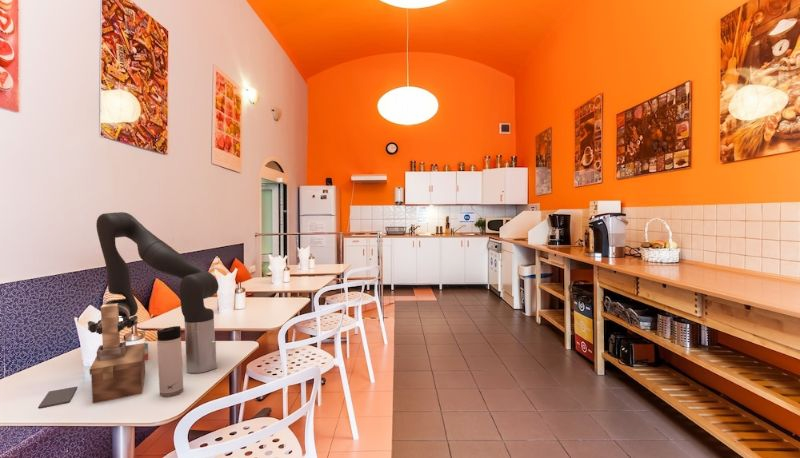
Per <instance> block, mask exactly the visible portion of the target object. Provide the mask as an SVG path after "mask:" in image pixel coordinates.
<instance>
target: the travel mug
mask: <svg viewBox="0 0 800 458" xmlns="http://www.w3.org/2000/svg"><path fill="white" fill-rule="evenodd" d="M181 330H182V329H181V326H179V325H177V326H175V325H174V326H169V327H165V328H163V329H162V330H161V329H160V330H157V331H156V336H157V343H156V344H157V363H158V382H159V383H158V384H159V396H161V397H164V398H165V397H169V398H170V397H174V396H176V395H179V394H181V393H182V392H183V391H184V379H183V378H184V374H183V372H184V371H183V354H182V351H183V350H182V335H181Z"/></svg>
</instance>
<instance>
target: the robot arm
mask: <svg viewBox="0 0 800 458" xmlns="http://www.w3.org/2000/svg"><path fill="white" fill-rule="evenodd" d="M95 224H96V232H97V237H98V240H99V244H100V248H101V252H102V256H103V258H104V262H105V268H106V275H107V277H106V278H107V279H106V280H107V290H108V293H109V294H111V295H120V296H123V298H122V299H121V298H120V299H119V298H117V299H111V300H108V301H106V303H104V305H106V304H116V303H118V312H119V323H118V325H117V327H118V332H121V331H123V330H124V329H126V328H127V329H130V328H133V327H134V326H136V325H137V324H138V323H139V322H138V321H139V320H138V319H139V318H138V316H137V315H136V314H137V313H138V311H139V306H138V305H139V304H138V302H137V300H136V299H135V295H134V293H133V291H132V283H131V273H130V272H131V271H130V269H129V266H128V264H127V263H126V261H125V259H124V258H123V257H122V256H121V255H120V253H119V251H118V249H117V244H116V239H117V238H127V239H129V240H131V241H133V242H134V243H135V244H136V245H137V246H136V247H137V252H138V255H139V258H140V259H141V261H143V262H144V263H146V265H148V266H150V267H151V268H152V269H153V270H156V271H158V272H160V273H163V274H166V275H170V276H172V277H176V278H179V279H181V280H180V283H179V299H180V309H181V313H182V315H183V319H184V320H183V321H184V337H185V338H184V339H185V359H186V360H185V361H186V364H185V365H186V372H187V373H189V374H200V373H205V372H209V371H212V370H215V369H217V367H218V366H217V365H218V363H217V347H216V345H217V343H216V336H215V334H216V333H215V332H216V331H215V315H214V314H215V313H214V312H215V311H214V310H213V309H212V308H208V307H205V302H204V299H209V298H211V297H213V296H215V295H216V294H217V293H218V291H219V288H220V287H219V282H218V280H217V278H216V276H215V275H214V274H212V273H211V272H210V271H208V270H206V269H204V268H202V267H201V266H199V265H197V264H195V263H193V262H192V261H191V260H189V259H188V258H187V257H186V256H184V255H183V254H181V253H179V252H178V251H177V250H175V249H174V248H173V247H171V246H170V245H169V244H168V243H166V242H165V241H164V240H162V239H160V238H159V237H157V236H156V235H155V234H154V233H152V232H151V231H150V230H149V229H147V228H146V227H145V226H144V225H143V224H142V223H141V222H139V220H137V219H136V217H134V216H133V215H132V214H130V213H128V212H125V211H124V212H122V211H121V212H108V213H102V214H99V215H98V217H97V220H96V223H95ZM87 330H88V331H89V332H90V333H96V334H98V335H102V321H101V319H100V320H98V321H97V322H96V321H92V320H91V321H87Z"/></svg>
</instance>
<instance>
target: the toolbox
mask: <svg viewBox="0 0 800 458" xmlns="http://www.w3.org/2000/svg"><path fill="white" fill-rule="evenodd" d="M145 343H146V342H142V343H135V344H130V345H129V344H128V345H127V342H126V341H124V342H123V341H122V342H120V348H114V349H107V350H103V344H101V345H99V347H98V349H97V351H96V357H95V359H94V361H93V362H92V364H91V366H90V368H89V375H91V393H92V394H91V395H92V404H96V403H100V402H101V403H102V402H106V401H110V400H111V401H112V400H116V399H122V398H127V397H132V396H137V395H142V394H143V389H144V384H145V378H146V377H145V376H146V361H145V353H144V351H145Z"/></svg>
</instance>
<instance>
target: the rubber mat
mask: <svg viewBox="0 0 800 458" xmlns="http://www.w3.org/2000/svg"><path fill="white" fill-rule="evenodd" d="M78 388H79V387H78V386H73V387H72V386H71V387H66V388H65V387H64V388H60V389H55V390H49V391H48V392H47V393H46V395H45V396H44V397H43V399H42V401H41V402H40V404H39V405H38V407H37V409H38V408H39V409H45V408H50V407H54V406H60V405H65V404H70V403H71V402H72V399H73V397H74V396H75V394H76V391H77V390H78Z"/></svg>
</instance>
